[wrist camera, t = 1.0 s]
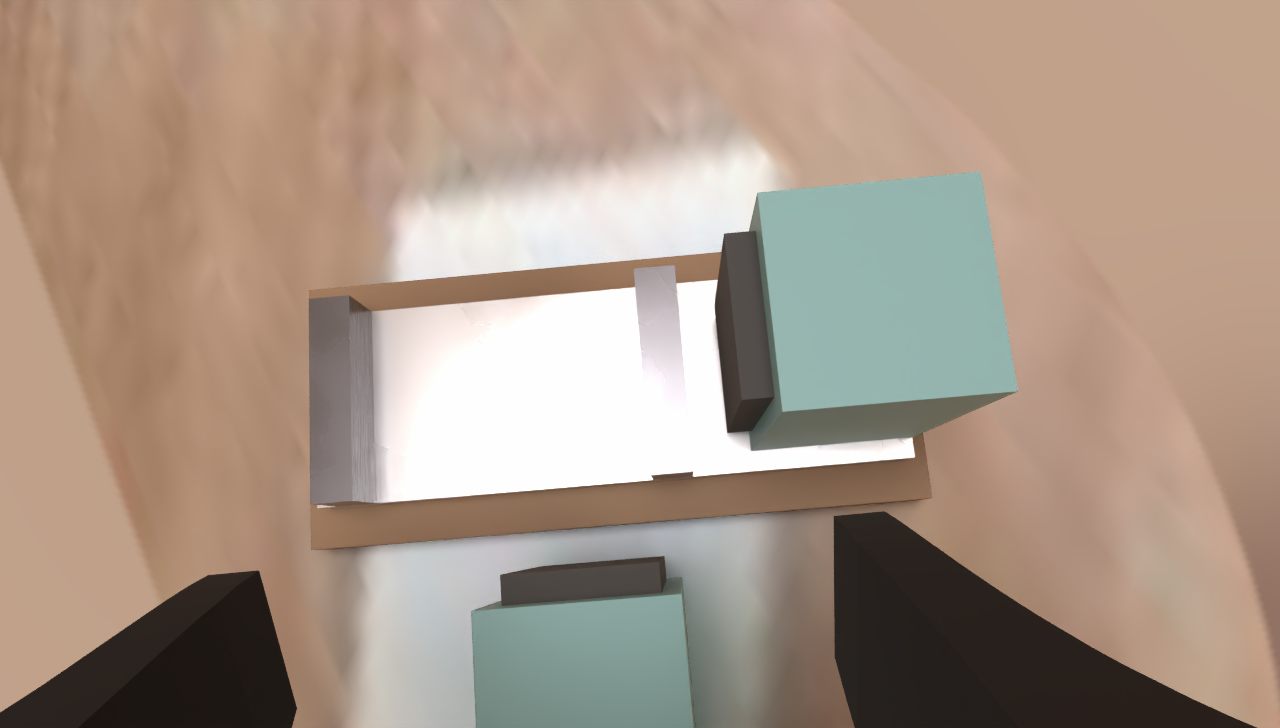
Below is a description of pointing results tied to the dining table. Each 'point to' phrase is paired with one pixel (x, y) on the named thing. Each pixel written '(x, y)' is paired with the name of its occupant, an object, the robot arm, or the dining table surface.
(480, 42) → the dining table surface
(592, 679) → the teal rectangular block
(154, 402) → the dining table surface
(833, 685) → the dining table surface
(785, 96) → the dining table surface
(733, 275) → the rail
